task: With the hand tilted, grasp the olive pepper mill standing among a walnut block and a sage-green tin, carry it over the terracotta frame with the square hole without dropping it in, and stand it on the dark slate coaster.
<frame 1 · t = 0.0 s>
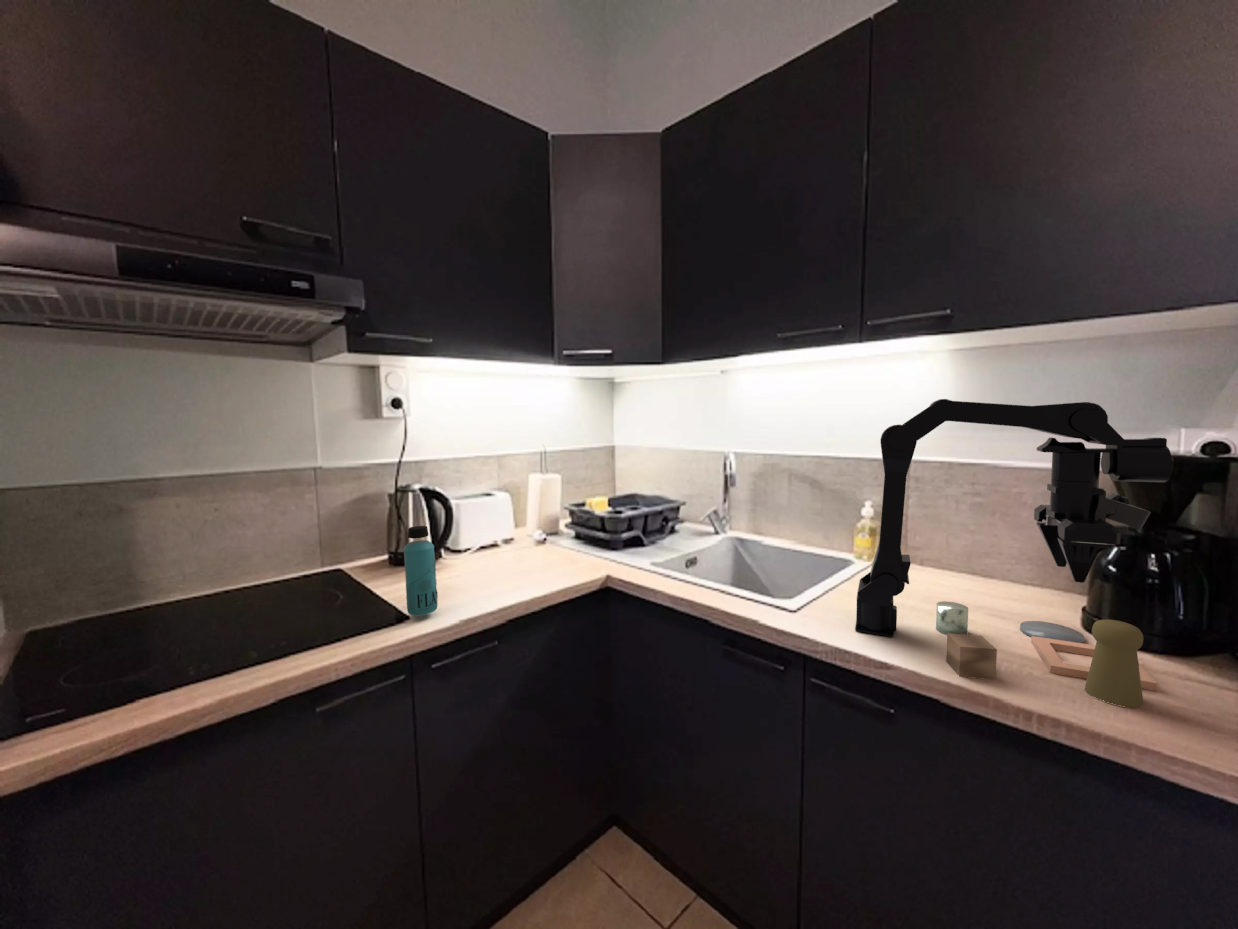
hand: (1069, 573, 80), 15 cm above the worktop, tool pointing down, fingers open, 9 cm apart
sage tin: (951, 631, 93), on the worktop
beverage bottle: (423, 617, 107), on the worktop
olive pepper mill: (1113, 697, 71), on the worktop
walnut block: (970, 670, 79), on the worktop
hole frame: (1087, 664, 80), on the worktop
slate coaster: (1051, 634, 91), on the worktop
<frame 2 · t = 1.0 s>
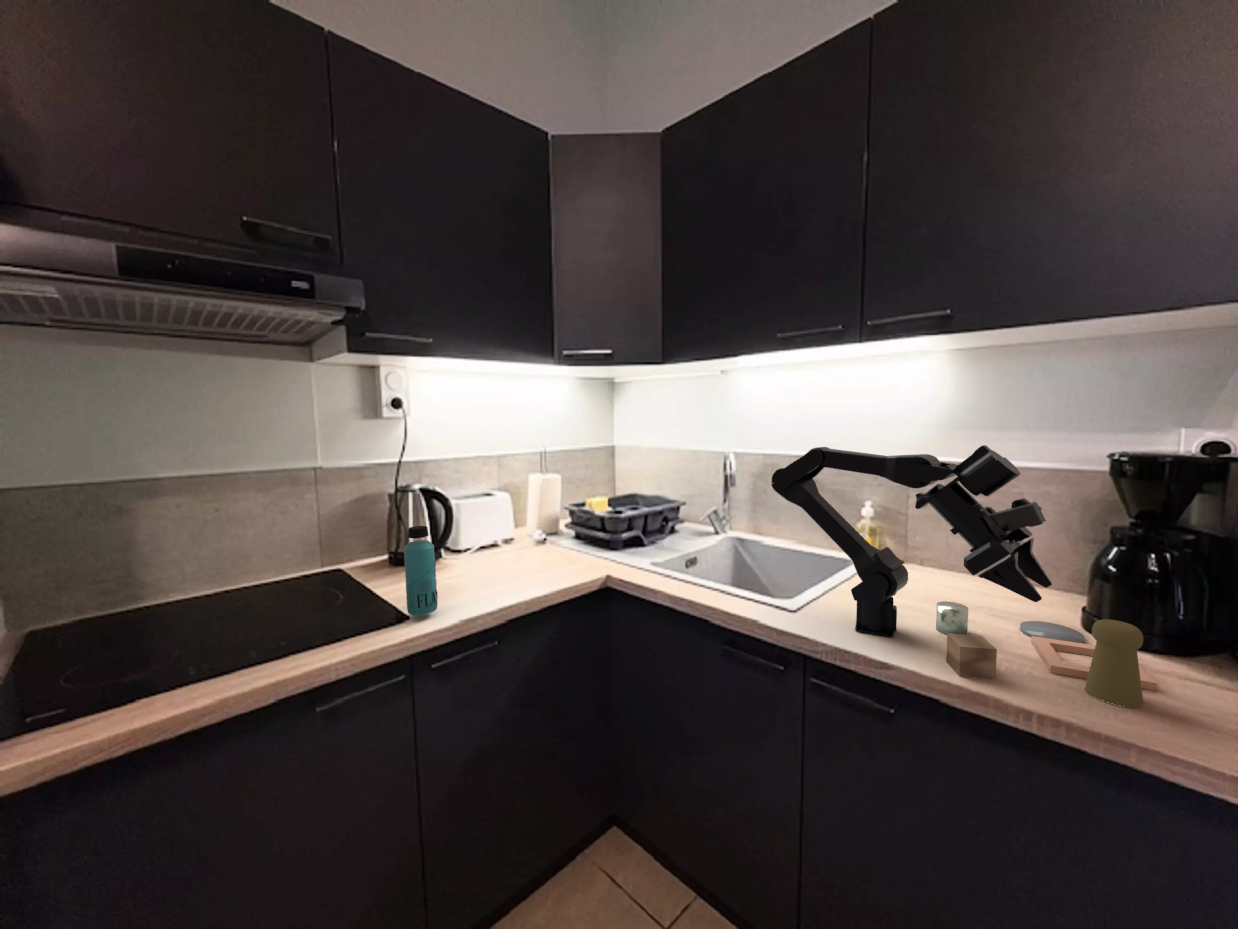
hand: (1044, 593, 76), 13 cm above the worktop, tool tilted 45°, fingers open, 9 cm apart
nothing on the worktop moved.
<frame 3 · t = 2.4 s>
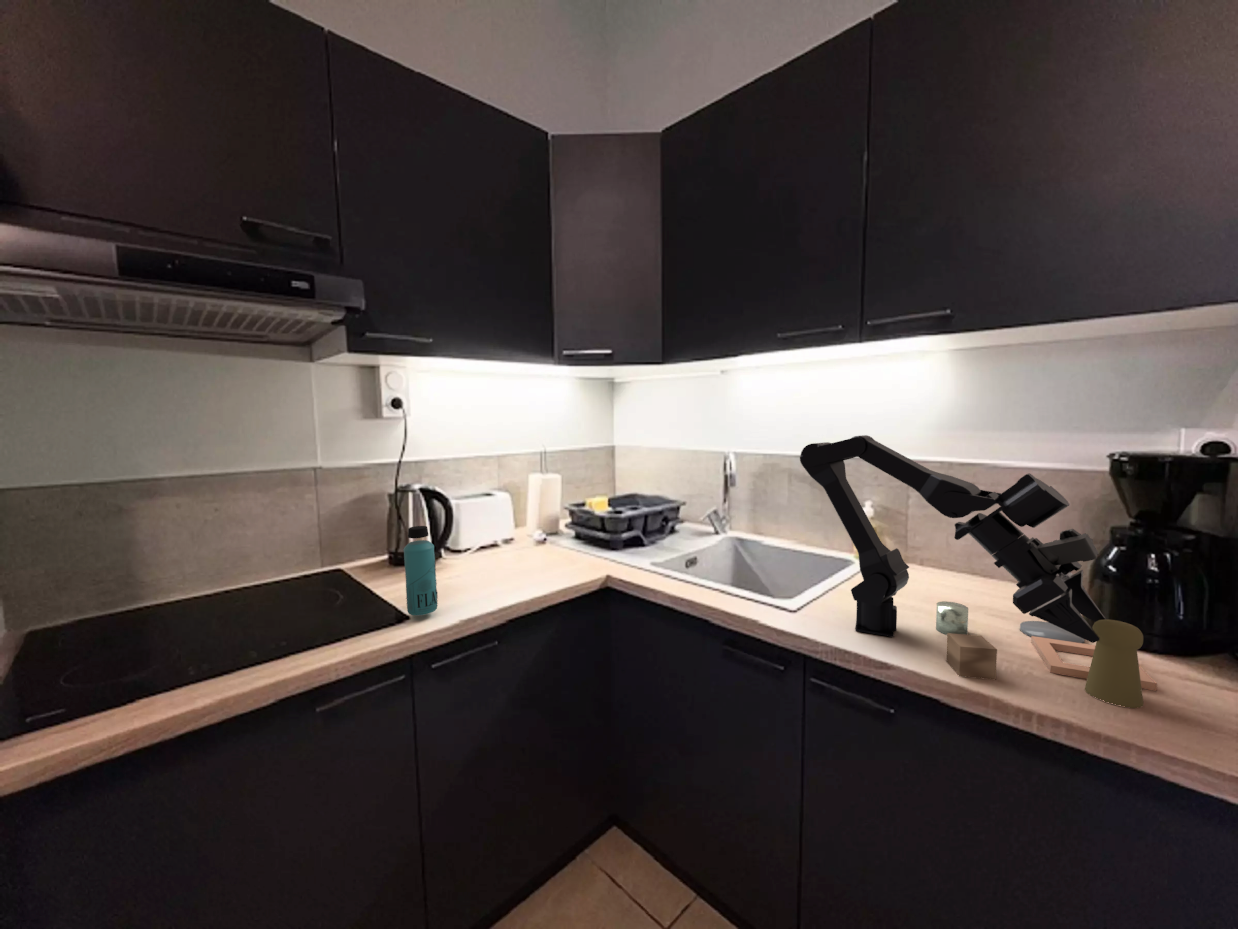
hand: (1100, 631, 71), 9 cm above the worktop, tool tilted 45°, fingers open, 9 cm apart
nothing on the worktop moved.
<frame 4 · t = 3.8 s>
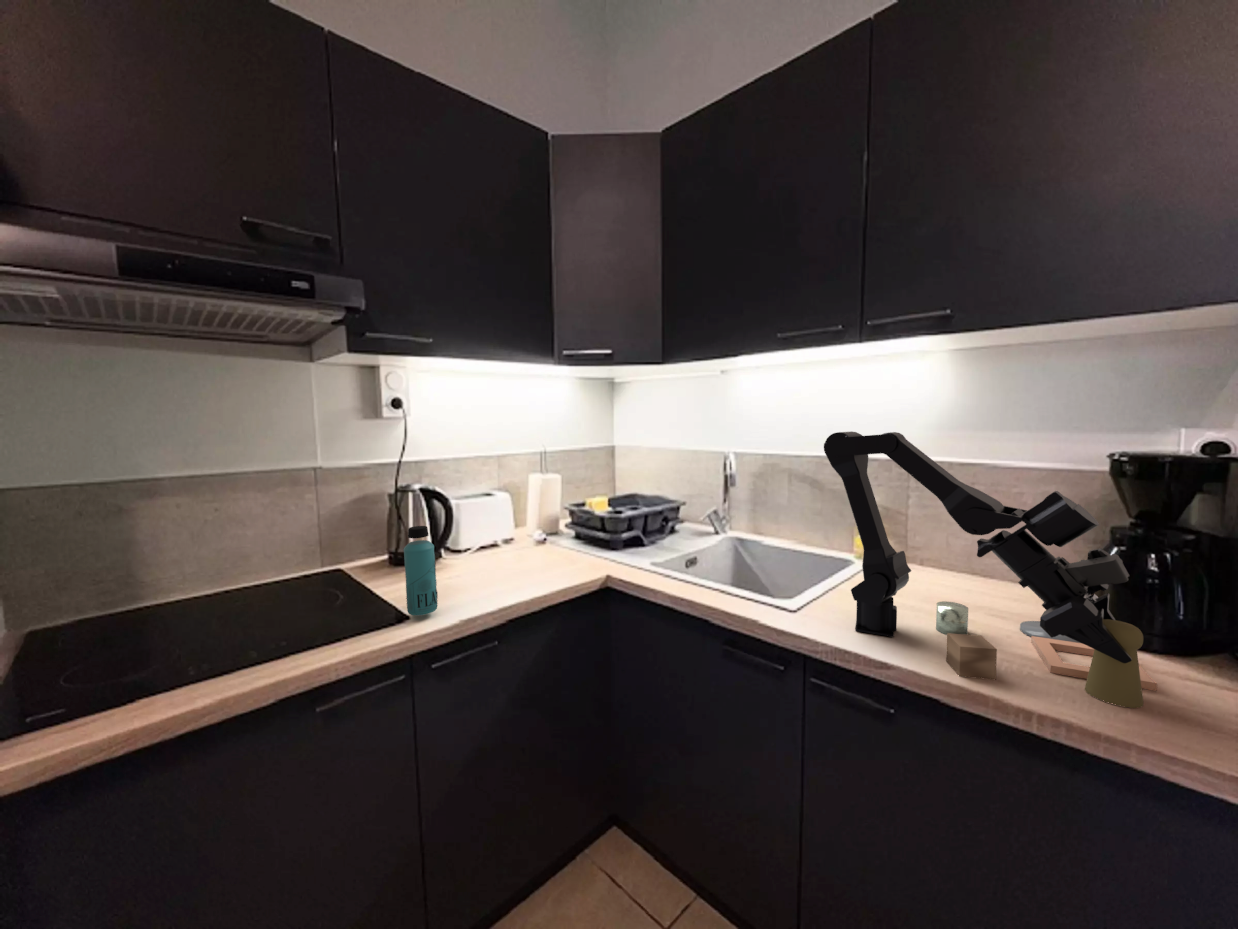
hand: (1129, 655, 69), 7 cm above the worktop, tool tilted 45°, fingers closed on olive pepper mill, 5 cm apart
olive pepper mill: (1113, 697, 71), on the worktop, touching gripper
everything else where it was.
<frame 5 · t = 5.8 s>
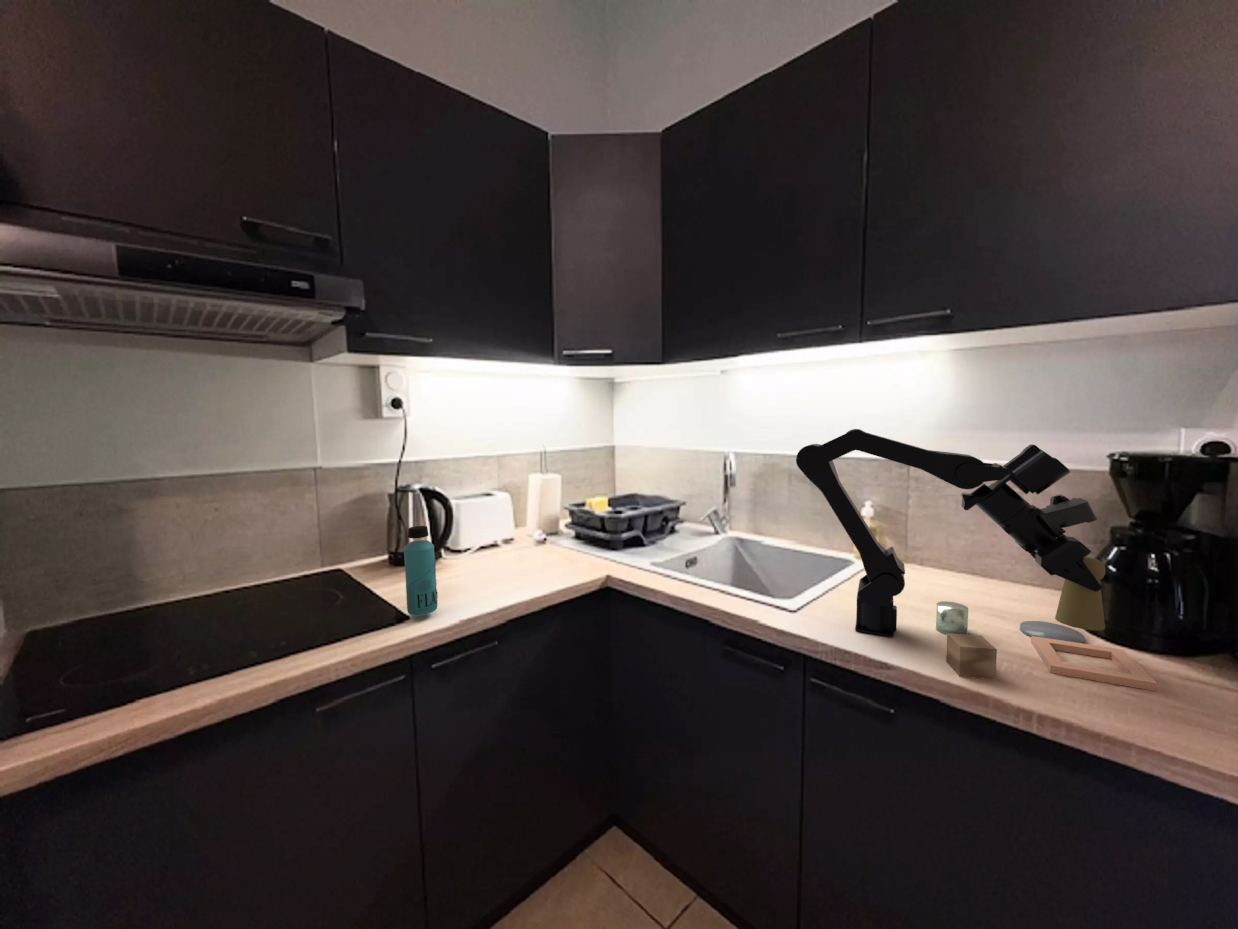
hand: (1093, 584, 79), 13 cm above the worktop, tool tilted 45°, fingers closed on olive pepper mill, 5 cm apart
olive pepper mill: (1079, 623, 80), point 6 cm above the worktop, touching gripper
everything else where it was.
when the fingers open (8 cm above the worktop, at t = 8.0 s): olive pepper mill stays where it is, resting on slate coaster.
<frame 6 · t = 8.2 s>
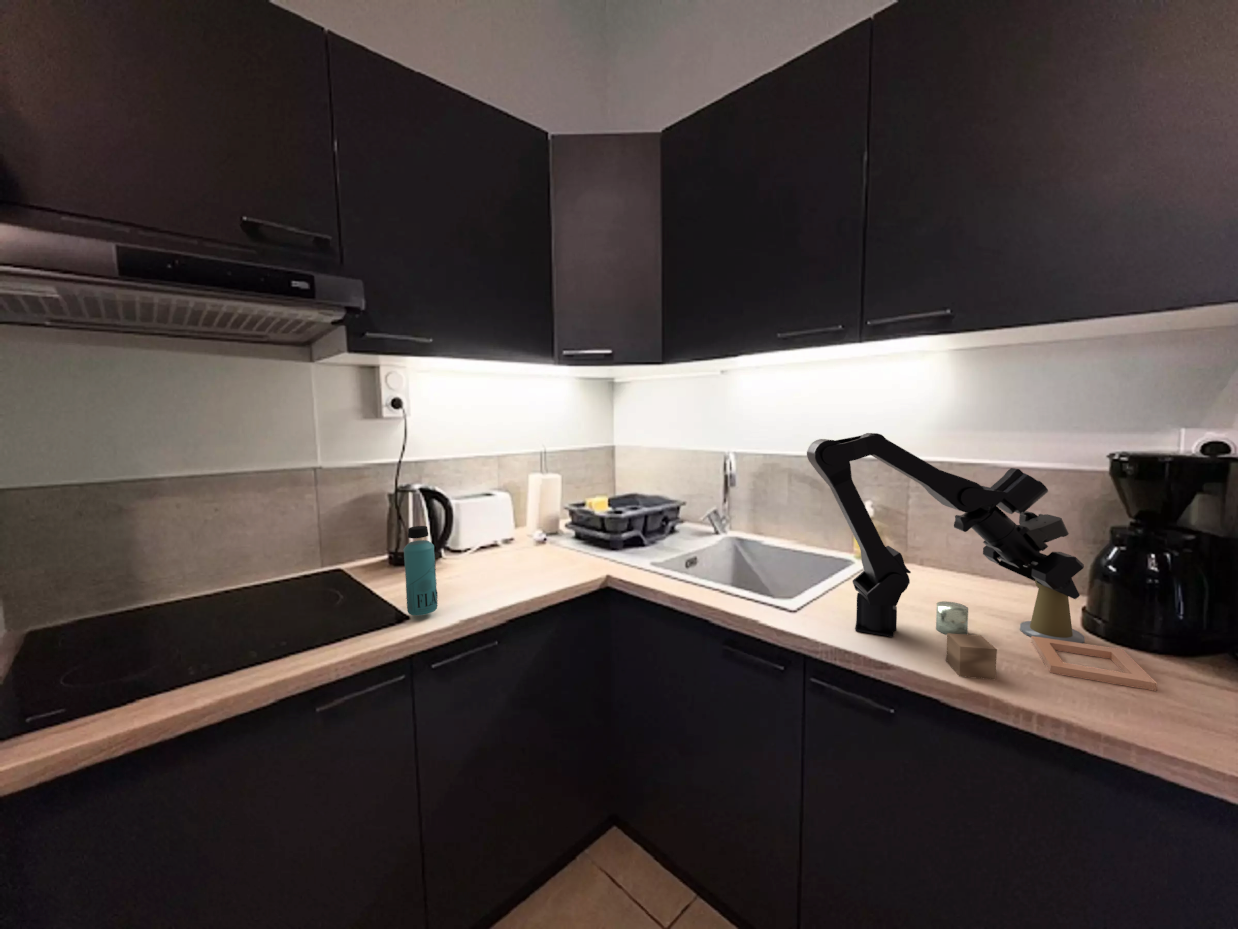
hand: (1061, 590, 90), 9 cm above the worktop, tool tilted 45°, fingers open, 7 cm apart
olive pepper mill: (1050, 631, 91), point 1 cm above the worktop, touching slate coaster
everything else where it was.
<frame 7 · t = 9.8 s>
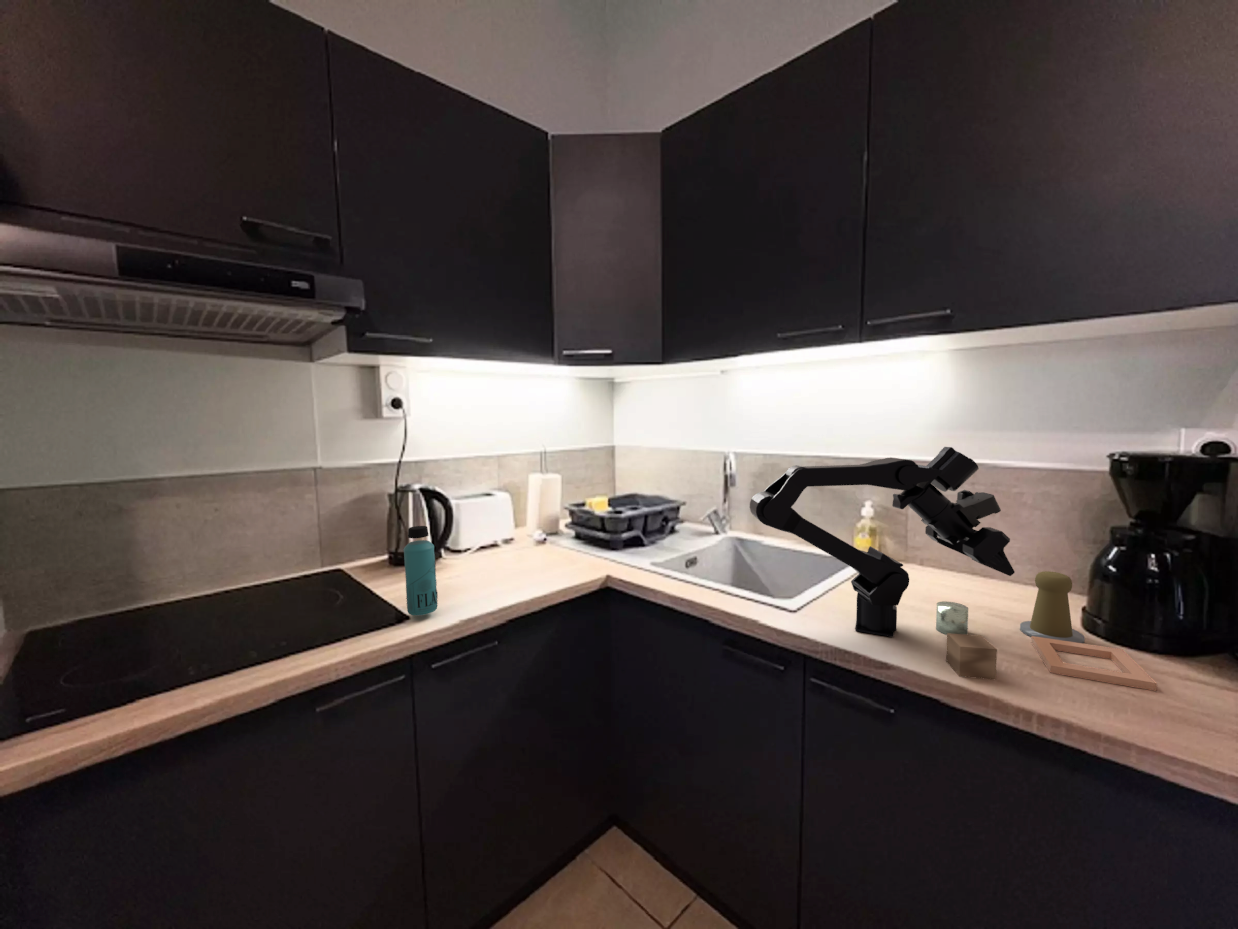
hand: (996, 566, 92), 13 cm above the worktop, tool tilted 45°, fingers open, 9 cm apart
nothing on the worktop moved.
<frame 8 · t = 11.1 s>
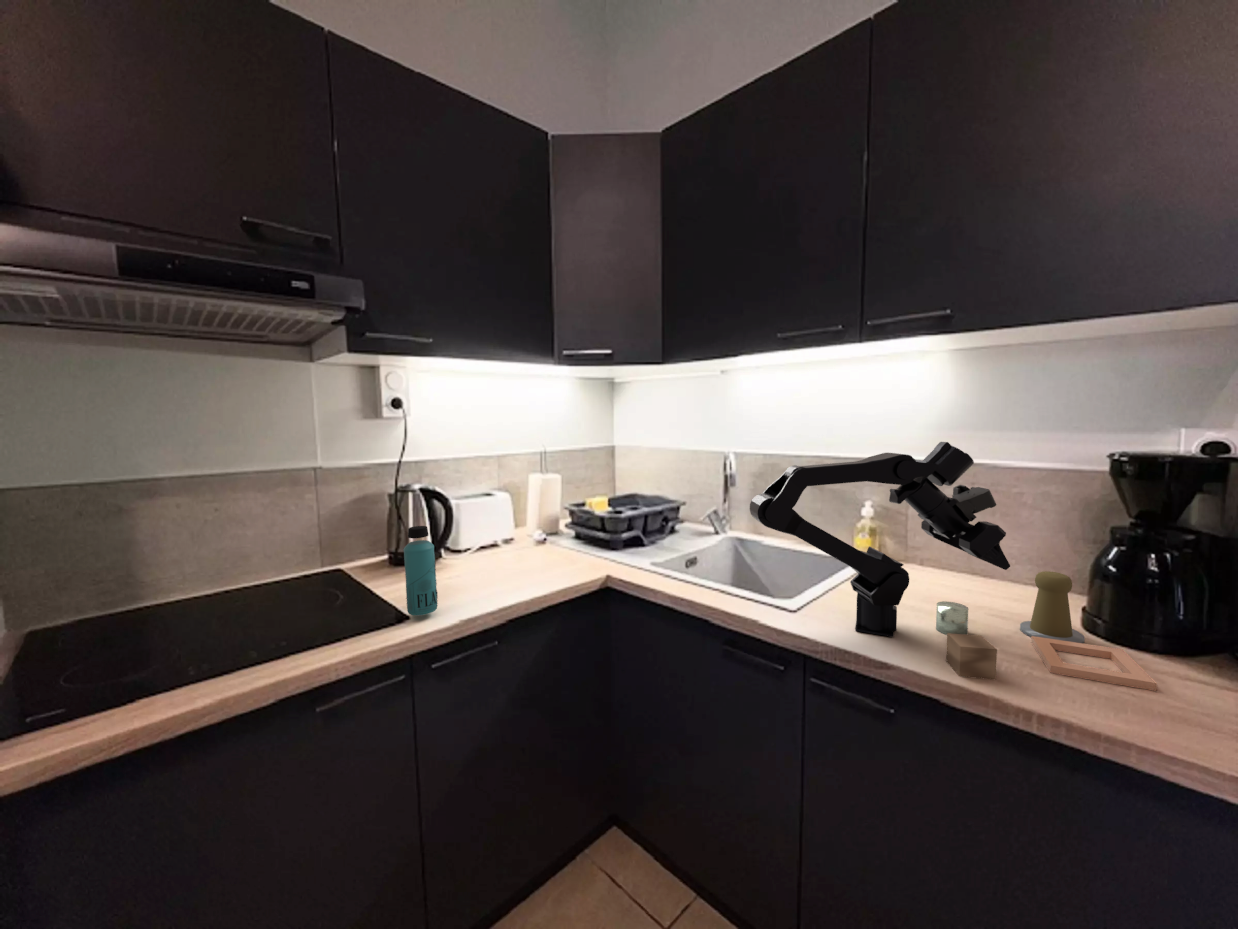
hand: (991, 560, 92), 14 cm above the worktop, tool tilted 45°, fingers open, 9 cm apart
nothing on the worktop moved.
at the end: olive pepper mill 0.1 cm from the slate coaster (horizontally); olive pepper mill tilted 0°; the gripper is holding nothing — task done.
